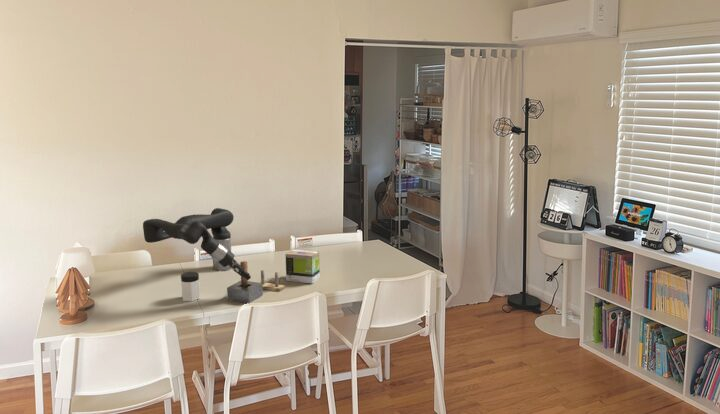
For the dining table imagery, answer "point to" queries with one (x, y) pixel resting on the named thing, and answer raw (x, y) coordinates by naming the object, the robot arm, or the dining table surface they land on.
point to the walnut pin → (243, 280)
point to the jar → (190, 286)
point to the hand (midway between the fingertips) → (248, 277)
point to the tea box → (302, 266)
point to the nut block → (245, 292)
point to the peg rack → (271, 286)
